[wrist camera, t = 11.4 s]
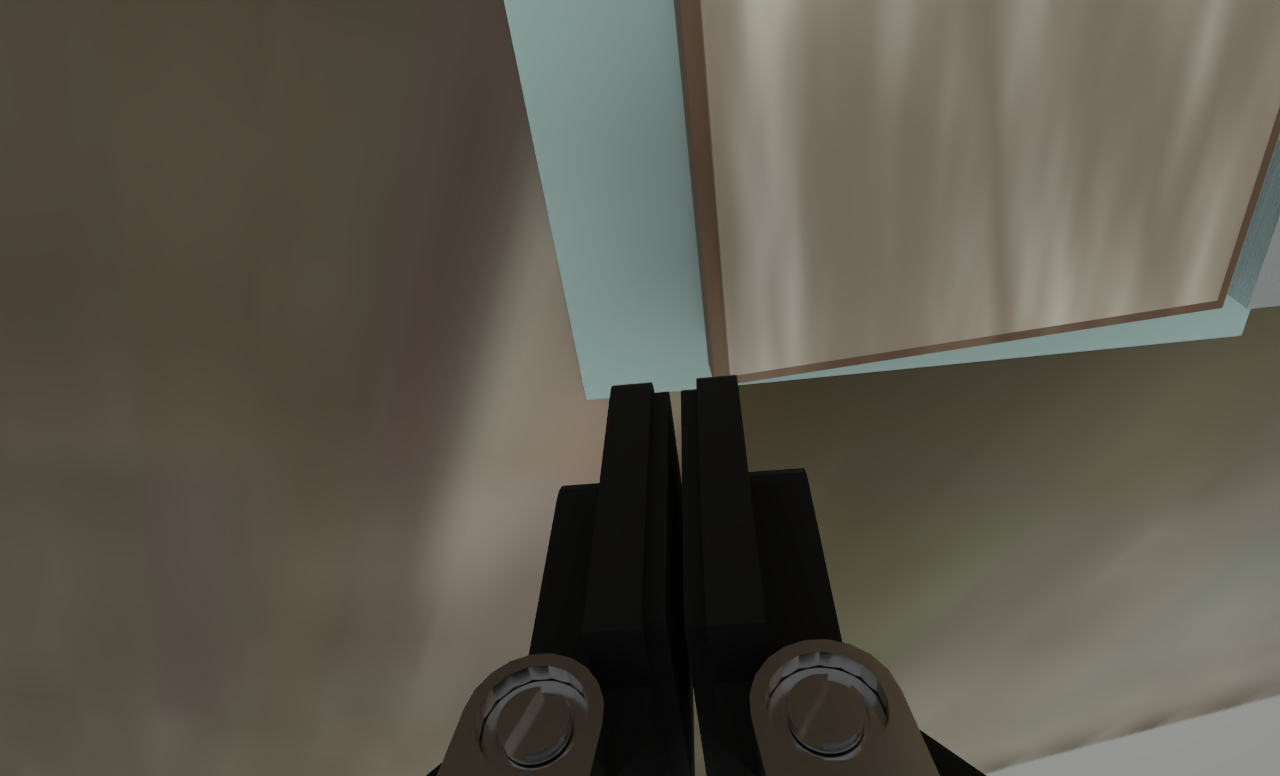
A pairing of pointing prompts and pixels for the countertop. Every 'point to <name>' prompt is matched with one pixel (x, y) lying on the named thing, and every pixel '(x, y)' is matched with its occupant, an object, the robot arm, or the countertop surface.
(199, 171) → the countertop surface
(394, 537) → the countertop surface
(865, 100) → the walnut board
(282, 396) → the countertop surface
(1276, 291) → the rail
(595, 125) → the mat
